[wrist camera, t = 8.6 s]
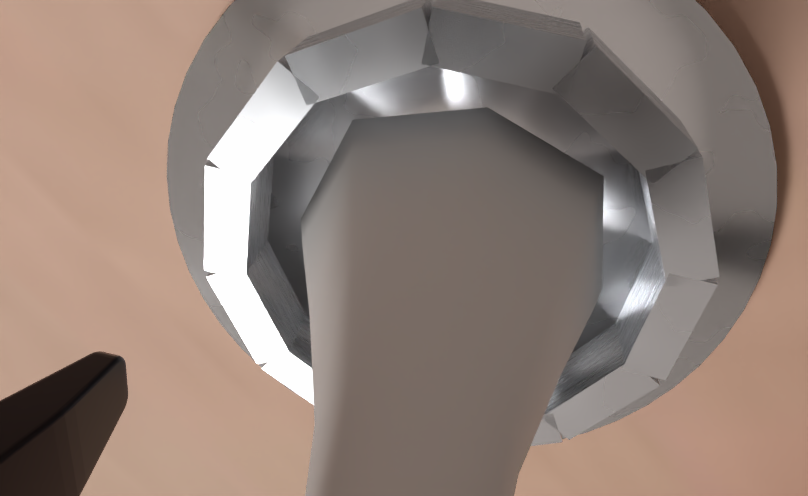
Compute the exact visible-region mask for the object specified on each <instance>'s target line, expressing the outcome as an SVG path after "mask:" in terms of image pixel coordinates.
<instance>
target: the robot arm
mask: <svg viewBox="0 0 808 496" xmlns="http://www.w3.org/2000/svg"><path fill="white" fill-rule="evenodd" d="M127 399H128V386H127V374H126V364H125V360H124V359H123V358H122V357H121V356H118V355H114V354H110V353H105V352H94V353H92V354H90V355H88V356H86V357H84V358H82V359H80V360H78V361H76V362H74V363H72V364H70V365H68V366H66V367H65V368H63V369H61V370H59V371H57V372H55V373H53V374H51V375H49V376H47V377H45V378H43V379H41V380H39V381H37V382H36V383H34V384H32V385H30V386H28V387H26V388H24V389H22V390H20V391H18V392H16V393H14V394H12V395H10V396H8V397H7V398H5V399H3V400H1V401H0V496H79V495H80V494H81V492H82V490H83V488H84V486H85V484H86V483H87V481H88V479H89V477H90V475H91V473H92V471H93V469H94V467H95V465H96V463H97V461H98V459H99V457H100V455H101V453H102V451H103V450H104V448H105V446H106V444H107V442H108V440H109V438H110V436H111V434H112V432H113V430H114V428H115V426H116V424H117V422H118V420H119V418H120V416H121V414H122V412H123V411H124V408H125V406H126V403H127Z"/></svg>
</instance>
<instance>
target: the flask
mask: <svg viewBox="0 0 808 496" xmlns="http://www.w3.org/2000/svg"><path fill="white" fill-rule="evenodd" d="M603 194H604V176H602V175H601V174H599V173H597V172H596V171H594V170H592V169H591V168H589V167H587V166H586V165H584V164H582V163H581V162H579V161H577V160H576V159H574V158H572V157H571V156H569V155H567V154H565V153H564V152H562V151H560V150H559V149H557V148H555V147H554V146H552V145H550V144H549V143H547V142H545V141H544V140H542V139H540V138H539V137H537V136H535V135H533V134H532V133H530V132H528V131H527V130H525V129H523V128H522V127H520V126H518V125H517V124H515V123H513V122H512V121H510V120H508V119H507V118H505V117H503V116H502V115H500V114H498V113H496V112H495V111H493V110H491V109H490V108H488V107H484V108H474V109H463V110H452V111H441V112H430V113H419V114H409V115H398V116H387V117H376V118H365V119H354V120H352V122H351V124H350V126H349V128H348V130H347V131H346V133H345V135H344V137H343V139H342V141H341V143H340V145H339V147H338V149H337V151H336V152H335V154H334V156H333V158H332V160H331V162H330V164H329V166H328V168H327V170H326V172H325V174H324V175H323V177H322V179H321V181H320V183H319V185H318V187H317V189H316V191H315V193H314V195H313V196H312V198H311V200H310V202H309V204H308V206H307V208H306V210H305V212H304V214H303V216H302V217H301V231H302V246H303V256H304V266H305V275H306V285H307V294H308V304H309V314H310V335H311V355H312V375H313V396H314V416H315V426H314V434H313V442H312V449H311V457H310V464H309V472H308V479H307V487H306V494H305V496H514V492H515V488H516V483H517V479H518V474H519V471H520V469H521V467H522V464H523V462H524V460H525V457H526V455H527V453H528V450H529V448H530V446H531V443H532V441H533V439H534V436H535V434H536V432H537V429H538V427H539V425H540V422H541V420H542V418H543V415H544V413H545V411H546V408H547V406H548V404H549V401H550V399H551V397H552V394H553V392H554V390H555V387H556V385H557V383H558V380H559V378H560V376H561V373H562V371H563V369H564V367H565V365H566V363H567V361H568V359H569V357H570V355H571V353H572V351H573V349H574V347H575V345H576V343H577V341H578V339H579V337H580V335H581V333H582V331H583V329H584V327H585V325H586V323H587V321H588V319H589V317H590V315H591V313H592V311H593V309H594V307H595V305H596V302H597V300H598V298H599V295H600V293H601V291H602V275H603Z"/></svg>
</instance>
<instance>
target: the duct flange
mask: <svg viewBox="0 0 808 496" xmlns="http://www.w3.org/2000/svg"><path fill="white" fill-rule="evenodd" d="M484 107H488V108H490V109H491V110H493V111H495V112H496V113H498V114H500V115H502V116H503V117H505V118H507V119H508V120H510V121H512V122H513V123H515V124H517V125H518V126H520V127H522V128H523V129H525V130H527V131H528V132H530V133H532V134H533V135H535V136H537V137H539V138H540V139H542V140H544V141H545V142H547V143H549V144H550V145H552V146H554V147H555V148H557V149H559V150H560V151H562V152H564V153H565V154H567V155H569V156H571V157H572V158H574V159H576V160H577V161H579V162H581V163H582V164H584V165H586V166H587V167H589V168H591V169H592V170H594V171H596V172H597V173H599V174H601V175H602V176H604V194H603V275H602V291H601V293H600V295H599V298H598V300H597V302H596V305H595V307H594V309H593V311H592V313H591V315H590V317H589V319H588V321H587V323H586V325H585V327H584V329H583V331H582V333H581V335H580V337H579V339H578V341H577V343H576V345H575V347H574V349H573V351H572V353H571V355H570V357H569V359H568V361H567V363H566V365H565V367H564V369H563V371H562V373H561V376H560V378H559V380H558V383H557V385H556V387H555V390H554V392H553V394H552V397H551V399H550V401H549V404H548V406H547V408H546V411H545V413H544V415H543V418H542V420H541V422H540V425H539V427H538V429H537V432H536V434H535V436H534V439H533V441H532V443H531V446H535V445H543V444H551V443H559V442H562V439H564V438H568V439H569V440H570V439H571V438H573V437H575V436H576V435H579V434H583V433H586V432H589V431H592V430H594V429H597V428H599V427H602V426H605V425H607V424H610V423H612V422H615V421H617V420H619V419H621V418H623V417H625V416H627V415H629V414H631V413H633V412H635V411H637V410H639V409H641V408H643V407H645V406H646V405H648V404H650V403H651V402H653V401H654V400H656V399H657V398H659V397H660V396H662V395H663V394H665V393H666V392H668V391H669V390H671V389H672V388H674V387H675V386H676V385H677V384H678V383H680V382H681V381H682V380H683V379H684V378H686V377H687V376H688V375H689V374H690V373H691V372H693V371H694V370H695V369H696V368H697V367H698V366H700V365H701V364H702V362H703V361H704V360H705V359H706V358H707V357H708V356H709V355H710V354H711V353H712V351H713V350H714V349H715V348H716V347H717V346H718V345H719V344H720V343H721V342H722V341H723V339H724V338H725V337H726V335H727V334H728V332H729V331H730V329H731V328H732V326H733V325H734V324H735V322H736V321H737V319H738V318H739V316H740V315H741V313H742V312H743V311H744V309H745V307H746V305H747V303H748V301H749V299H750V297H751V295H752V293H753V291H754V289H755V287H756V285H757V283H758V281H759V279H760V276H761V273H762V269H763V266H764V263H765V260H766V257H767V254H768V251H769V248H770V245H771V240H772V234H773V228H774V222H775V215H776V209H777V164H776V158H775V153H774V147H773V141H772V135H771V129H770V125H769V122H768V119H767V116H766V113H765V110H764V107H763V105H762V102H761V99H760V96H759V93H758V90H757V87H756V85H755V83H754V81H753V80H752V78H751V76H750V74H749V72H748V70H747V69H746V67H745V65H744V63H743V61H742V59H741V58H740V56H739V54H738V52H737V50H736V48H735V47H734V45H733V44H732V43H731V42H730V40H729V39H728V38H727V37H726V35H725V34H724V33H723V31H722V30H721V29H720V28H719V26H718V25H717V24H716V22H715V21H714V20H713V19H712V17H711V16H710V15H709V14H708V12H707V11H706V10H705V9H704V8H703V7H702V6H701V5H700V4H699V3H697V2H696V1H695V0H235V1H234V2H233V3H232V4H231V5H230V6H229V7H228V8H227V10H226V11H225V12H224V14H223V15H222V16H221V18H220V19H219V20H218V22H217V23H216V24H215V26H214V27H213V28H212V30H211V31H210V32H209V34H208V35H207V36H206V38H205V39H204V41H203V43H202V45H201V47H200V49H199V51H198V52H197V54H196V56H195V58H194V60H193V62H192V64H191V66H190V67H189V69H188V71H187V73H186V76H185V79H184V82H183V85H182V88H181V91H180V93H179V96H178V99H177V102H176V105H175V108H174V114H173V119H172V124H171V130H170V135H169V140H168V159H167V183H168V193H169V203H170V211H171V215H172V219H173V223H174V227H175V232H176V236H177V240H178V243H179V246H180V248H181V251H182V254H183V256H184V259H185V262H186V264H187V267H188V270H189V272H190V274H191V276H192V277H193V279H194V281H195V283H196V285H197V287H198V289H199V291H200V293H201V295H202V297H203V299H204V300H205V302H206V303H207V304H208V306H209V307H210V309H211V310H212V312H213V313H214V315H215V316H216V318H217V319H218V321H219V322H220V324H221V325H222V326H223V327H224V328H225V330H226V331H227V332H228V333H229V334H230V336H231V337H232V338H233V339H234V340H235V341H236V343H237V344H238V345H239V346H240V347H241V348H242V349H243V350H244V351H245V352H246V353H247V354H248V355H249V356H250V357H251V358H252V359H253V360H254V361H255V362H256V363H257V364H258V365H260V366H261V367H262V369H263V370H264V371H266V372H267V373H269V374H270V375H271V376H273V377H274V378H275V379H277V380H278V381H279V382H281V383H282V384H283V385H284V386H286V387H287V388H288V389H290V390H291V391H293V392H295V393H296V394H298V395H299V396H301V397H303V398H304V399H306V400H307V401H309V402H310V403H311V404H313V405H314V396H313V375H312V355H311V335H310V314H309V304H308V294H307V285H306V275H305V266H304V256H303V246H302V231H301V217H302V216H303V214H304V212H305V210H306V208H307V206H308V204H309V202H310V200H311V198H312V196H313V195H314V193H315V191H316V189H317V187H318V185H319V183H320V181H321V179H322V177H323V175H324V174H325V172H326V170H327V168H328V166H329V164H330V162H331V160H332V158H333V156H334V154H335V152H336V151H337V149H338V147H339V145H340V143H341V141H342V139H343V137H344V135H345V133H346V131H347V130H348V128H349V126H350V124H351V122H352V120H354V119H365V118H376V117H387V116H398V115H409V114H419V113H430V112H441V111H452V110H463V109H474V108H484Z"/></svg>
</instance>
